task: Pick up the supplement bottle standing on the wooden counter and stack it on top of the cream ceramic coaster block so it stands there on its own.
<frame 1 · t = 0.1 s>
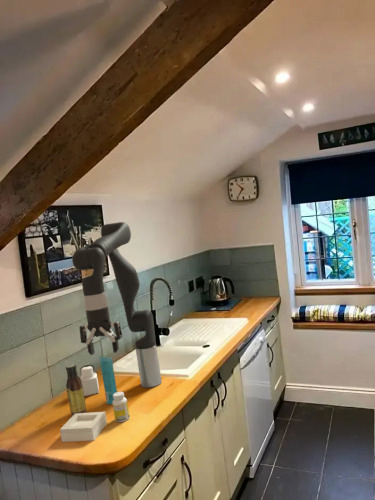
hand: (103, 353, 149), 29 cm above the worktop, tool pointing down, fingers open, 8 cm apart
supplement bottle: (122, 419, 162), on the worktop
tube: (112, 402, 180), on the worktop
sauce bottle: (78, 413, 173), on the worktop
medicine bottle: (91, 392, 195), on the worktop
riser: (85, 432, 156), on the worktop
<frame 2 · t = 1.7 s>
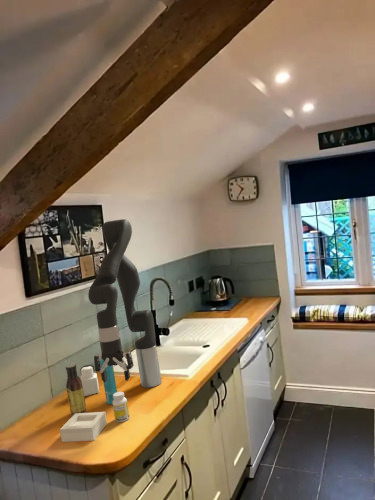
hand: (116, 380, 161), 15 cm above the worktop, tool pointing down, fingers open, 8 cm apart
nothing on the worktop moved.
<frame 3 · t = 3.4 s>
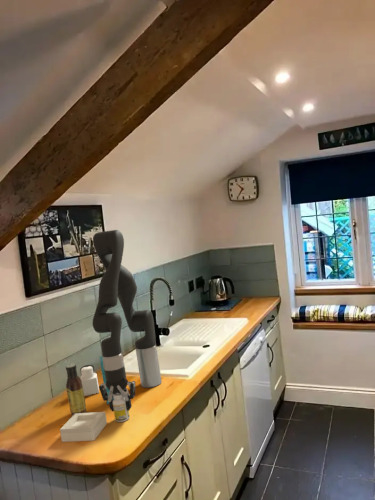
hand: (121, 409, 162), 4 cm above the worktop, tool pointing down, fingers closed on supplement bottle, 5 cm apart
supplement bottle: (122, 419, 162), on the worktop, touching gripper
everything else where it was.
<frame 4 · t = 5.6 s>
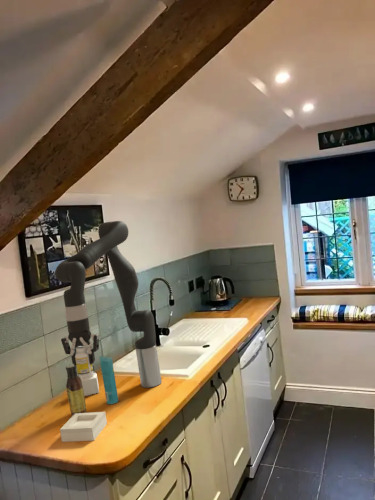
hand: (84, 364, 155), 24 cm above the worktop, tool pointing down, fingers closed on supplement bottle, 5 cm apart
supplement bottle: (85, 374, 155), point 21 cm above the worktop, touching gripper
everything else where it was.
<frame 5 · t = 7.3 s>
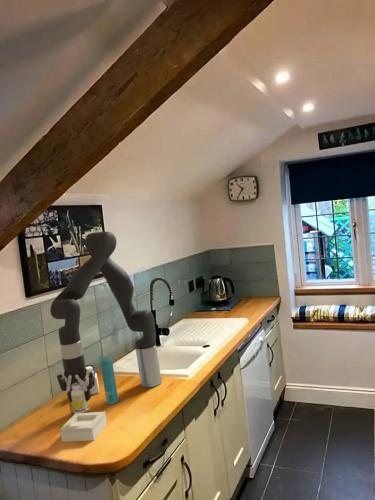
hand: (80, 400, 155), 12 cm above the worktop, tool pointing down, fingers closed on supplement bottle, 5 cm apart
supplement bottle: (81, 410, 155), point 8 cm above the worktop, touching gripper
everything else where it was.
when the fingers open (9 cm above the worktop, at t = 8.3 s): supplement bottle drops 2 cm, resting on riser.
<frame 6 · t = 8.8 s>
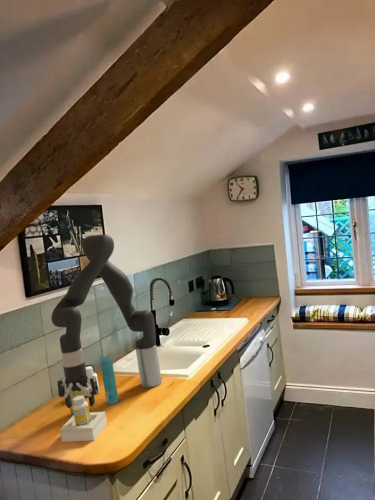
hand: (80, 406, 155), 10 cm above the worktop, tool pointing down, fingers open, 8 cm apart
supplement bottle: (83, 424, 156), point 3 cm above the worktop, touching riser
everything else where it was.
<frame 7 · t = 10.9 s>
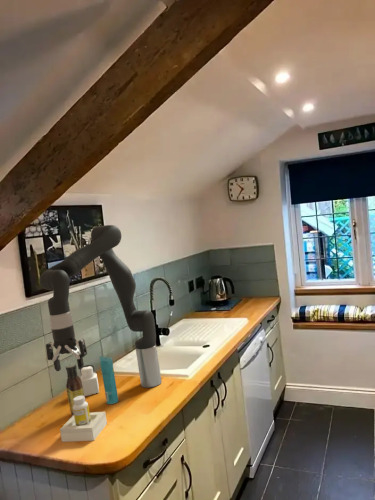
hand: (69, 369, 156), 23 cm above the worktop, tool pointing down, fingers open, 8 cm apart
nothing on the worktop moved.
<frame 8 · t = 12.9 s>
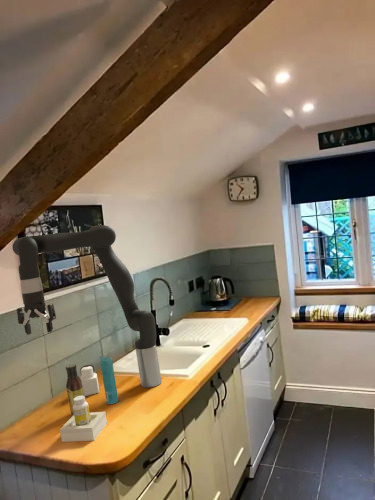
hand: (39, 333, 162), 36 cm above the worktop, tool pointing down, fingers open, 8 cm apart
nothing on the worktop moved.
at the end: supplement bottle inside the target area on the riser (0.2 cm from its centre), point 2.8 cm above the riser's base; supplement bottle tilted 0°; the gripper is holding nothing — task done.
